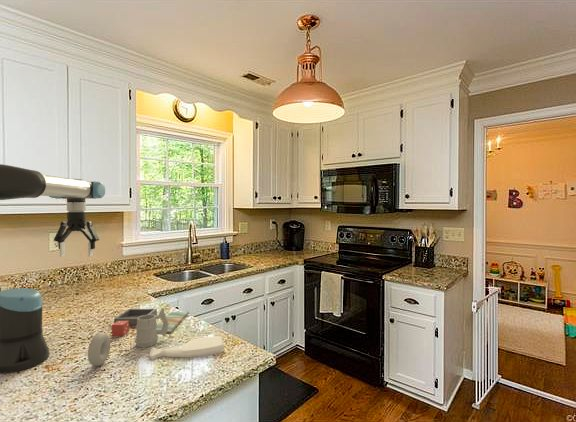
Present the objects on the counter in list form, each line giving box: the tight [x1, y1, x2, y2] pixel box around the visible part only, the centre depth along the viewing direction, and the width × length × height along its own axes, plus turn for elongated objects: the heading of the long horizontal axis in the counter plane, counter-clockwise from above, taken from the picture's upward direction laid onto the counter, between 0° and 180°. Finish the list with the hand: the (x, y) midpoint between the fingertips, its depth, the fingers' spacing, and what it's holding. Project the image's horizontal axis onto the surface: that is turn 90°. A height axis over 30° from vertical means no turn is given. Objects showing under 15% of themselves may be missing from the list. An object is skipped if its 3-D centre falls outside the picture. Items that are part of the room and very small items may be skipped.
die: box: [111, 321, 130, 337], centre depth 128 cm, size 5×5×5 cm
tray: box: [113, 308, 158, 327], centre depth 143 cm, size 13×13×3 cm
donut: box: [87, 332, 111, 367], centre depth 103 cm, size 10×4×10 cm, turn 4°
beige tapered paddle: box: [148, 335, 224, 361], centre depth 113 cm, size 3×11×24 cm
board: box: [156, 311, 190, 334], centre depth 141 cm, size 24×8×1 cm, turn 1°
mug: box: [134, 307, 169, 348], centre depth 120 cm, size 8×12×12 cm, turn 129°
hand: (76, 256), depth 153 cm, fingers open, 13 cm apart
